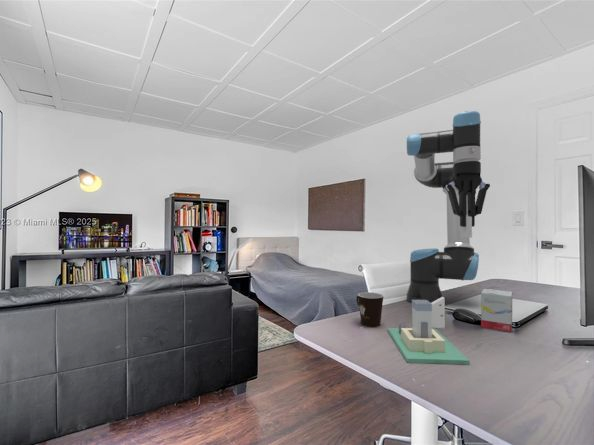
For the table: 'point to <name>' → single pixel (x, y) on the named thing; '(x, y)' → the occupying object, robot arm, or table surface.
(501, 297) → the ink box
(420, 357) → the board
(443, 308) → the white wedge bracket
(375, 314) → the coffee mug
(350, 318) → the table surface
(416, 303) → the plug
